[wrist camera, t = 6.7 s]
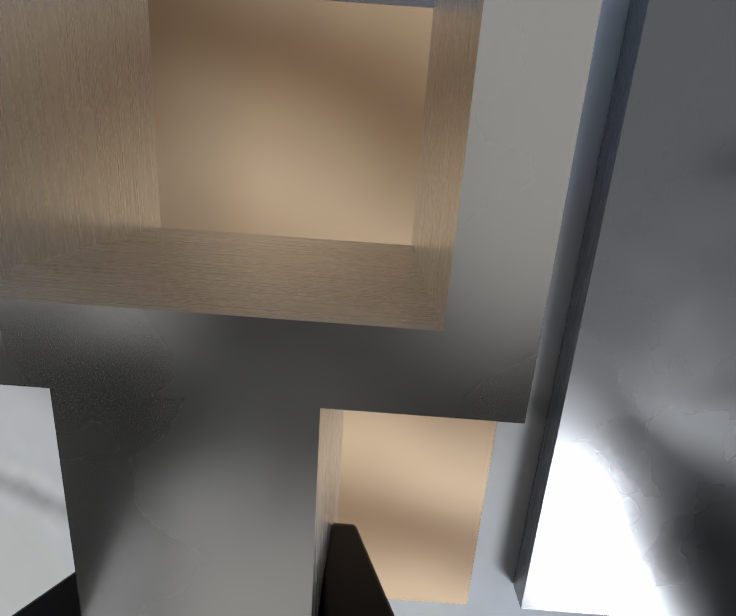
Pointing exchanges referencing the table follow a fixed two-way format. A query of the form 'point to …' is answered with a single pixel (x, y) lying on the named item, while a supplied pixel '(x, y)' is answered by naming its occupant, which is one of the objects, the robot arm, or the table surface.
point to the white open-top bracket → (262, 300)
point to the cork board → (324, 221)
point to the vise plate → (649, 344)
